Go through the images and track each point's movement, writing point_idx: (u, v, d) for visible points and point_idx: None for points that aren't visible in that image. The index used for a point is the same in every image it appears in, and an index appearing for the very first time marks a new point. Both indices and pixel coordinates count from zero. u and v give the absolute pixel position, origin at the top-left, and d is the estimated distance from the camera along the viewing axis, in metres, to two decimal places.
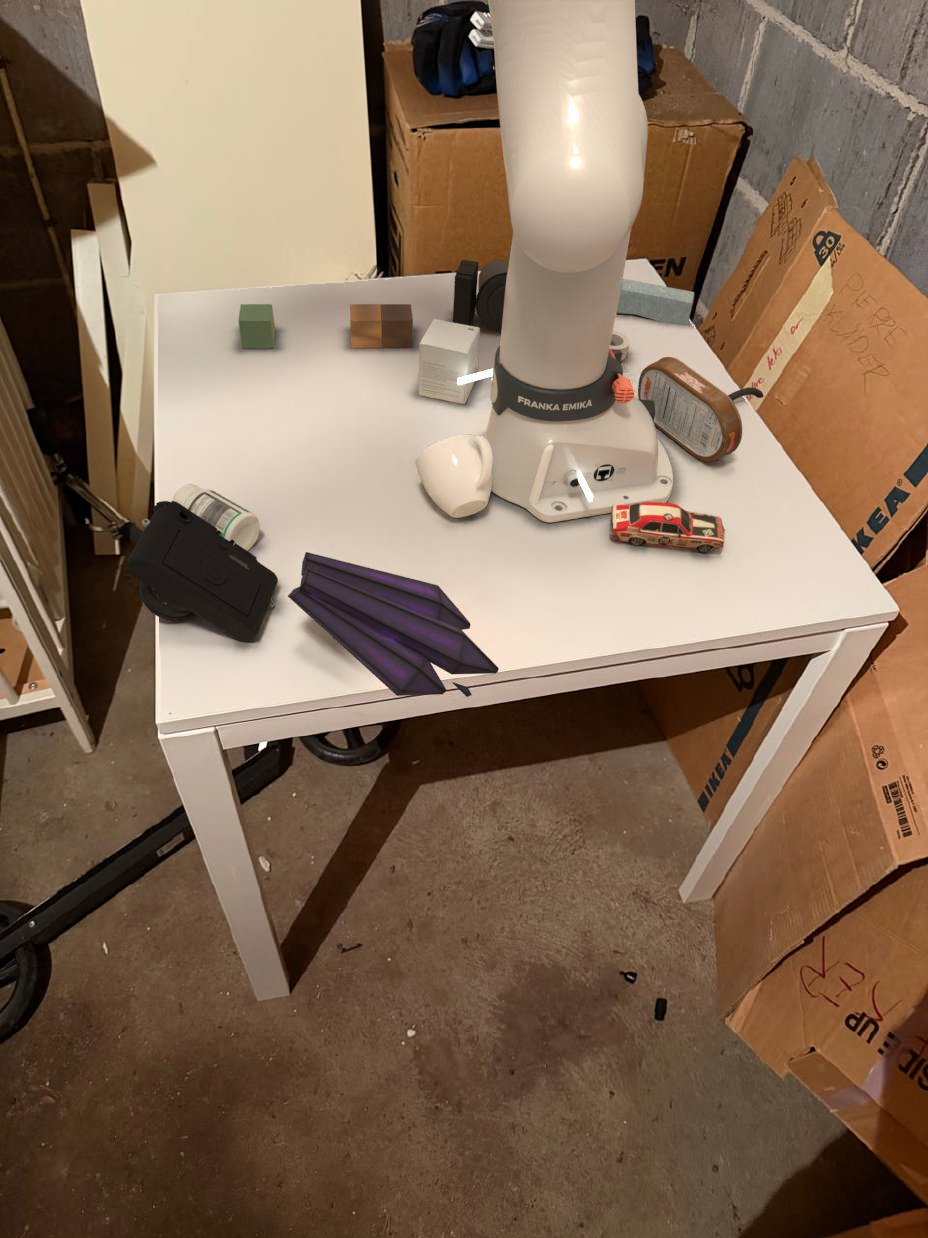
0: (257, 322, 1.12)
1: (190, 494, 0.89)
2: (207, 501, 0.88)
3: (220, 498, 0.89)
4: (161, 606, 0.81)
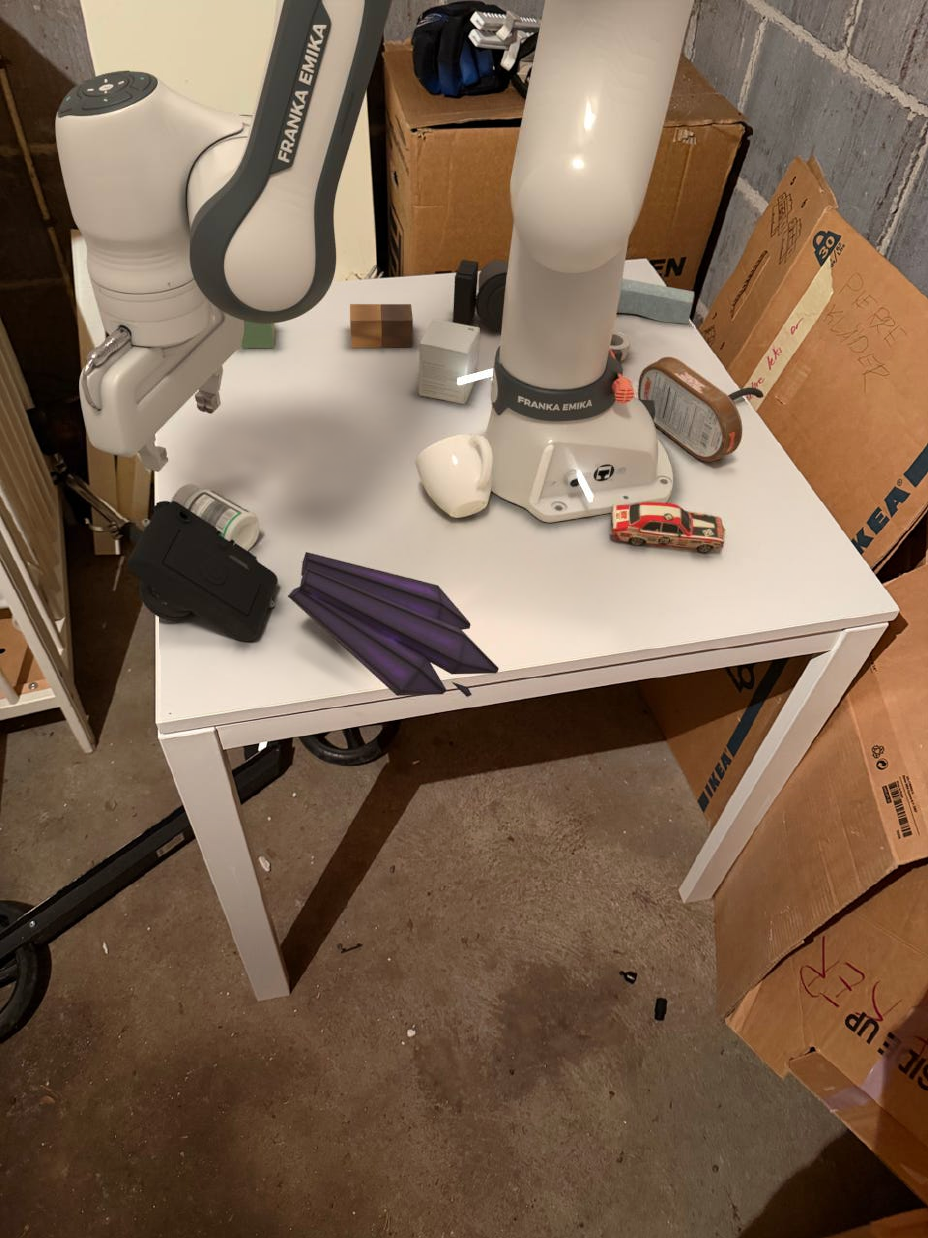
0: None
1: (190, 494, 0.89)
2: (207, 501, 0.88)
3: (220, 498, 0.89)
4: (161, 606, 0.81)
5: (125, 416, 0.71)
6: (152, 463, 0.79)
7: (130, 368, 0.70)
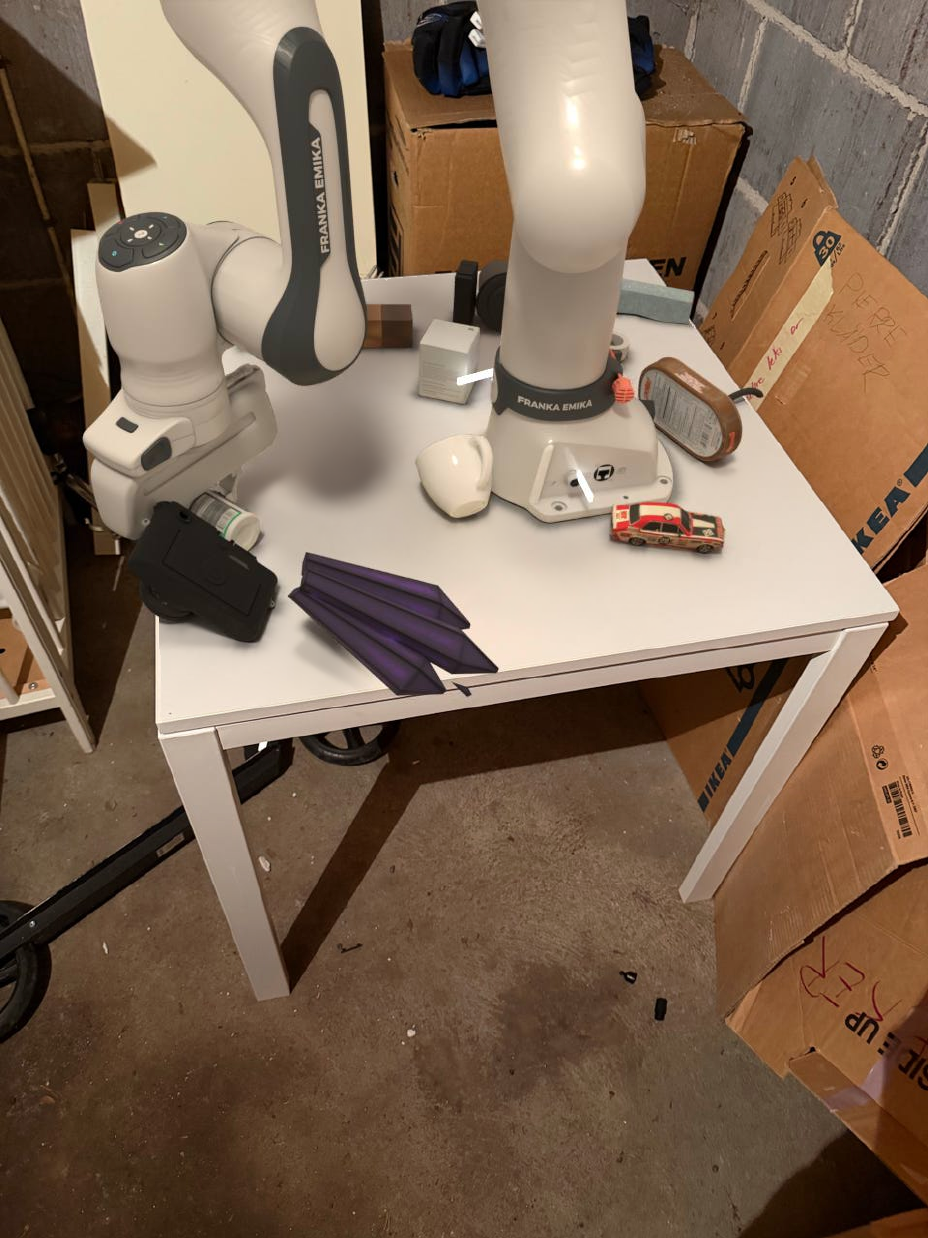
0: None
1: None
2: (207, 501, 0.88)
3: (220, 497, 0.89)
4: (161, 606, 0.81)
5: None
6: None
7: None
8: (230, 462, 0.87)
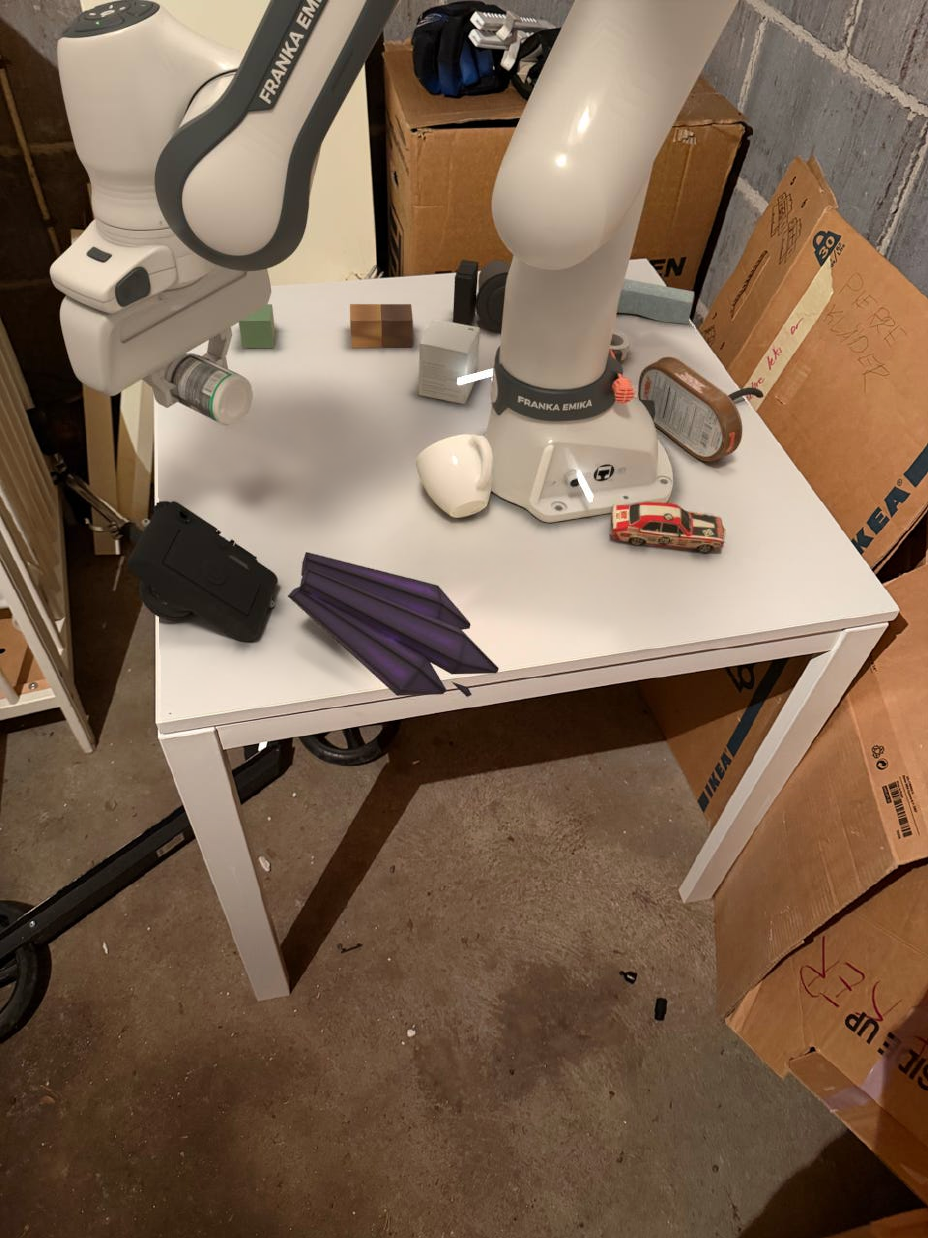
0: (257, 322, 1.12)
1: None
2: (193, 363, 0.79)
3: (208, 361, 0.80)
4: (161, 606, 0.81)
5: None
6: None
7: None
8: (218, 319, 0.78)
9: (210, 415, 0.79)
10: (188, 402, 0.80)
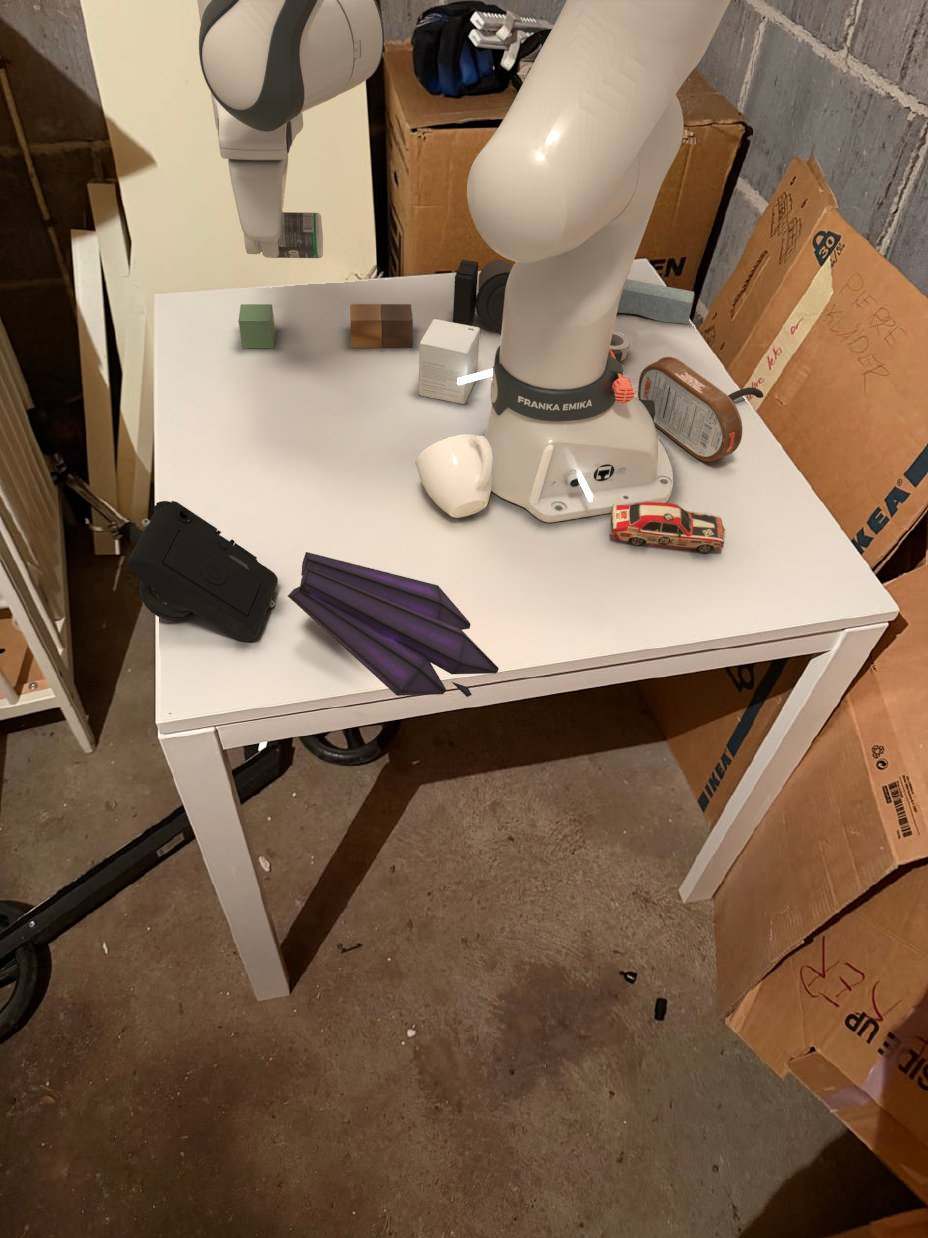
0: (257, 322, 1.12)
1: None
2: None
3: (284, 212, 0.98)
4: (161, 606, 0.81)
5: None
6: None
7: None
8: (285, 173, 0.97)
9: (312, 250, 0.99)
10: (288, 248, 0.98)
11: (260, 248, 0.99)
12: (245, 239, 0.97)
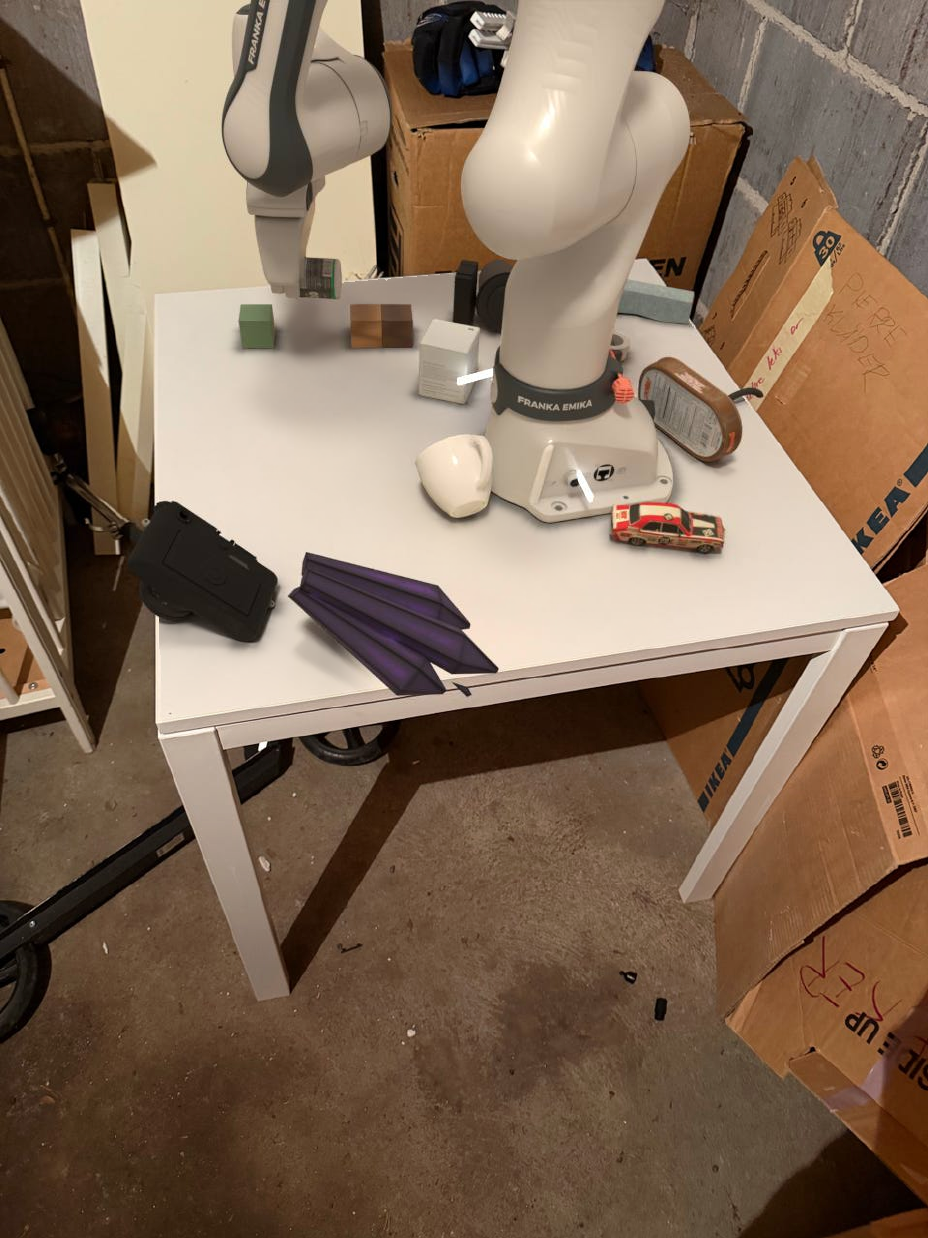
0: (257, 322, 1.12)
1: None
2: None
3: (307, 257, 1.09)
4: (161, 606, 0.81)
5: None
6: None
7: None
8: (309, 223, 1.08)
9: (330, 292, 1.09)
10: (308, 290, 1.09)
11: None
12: None
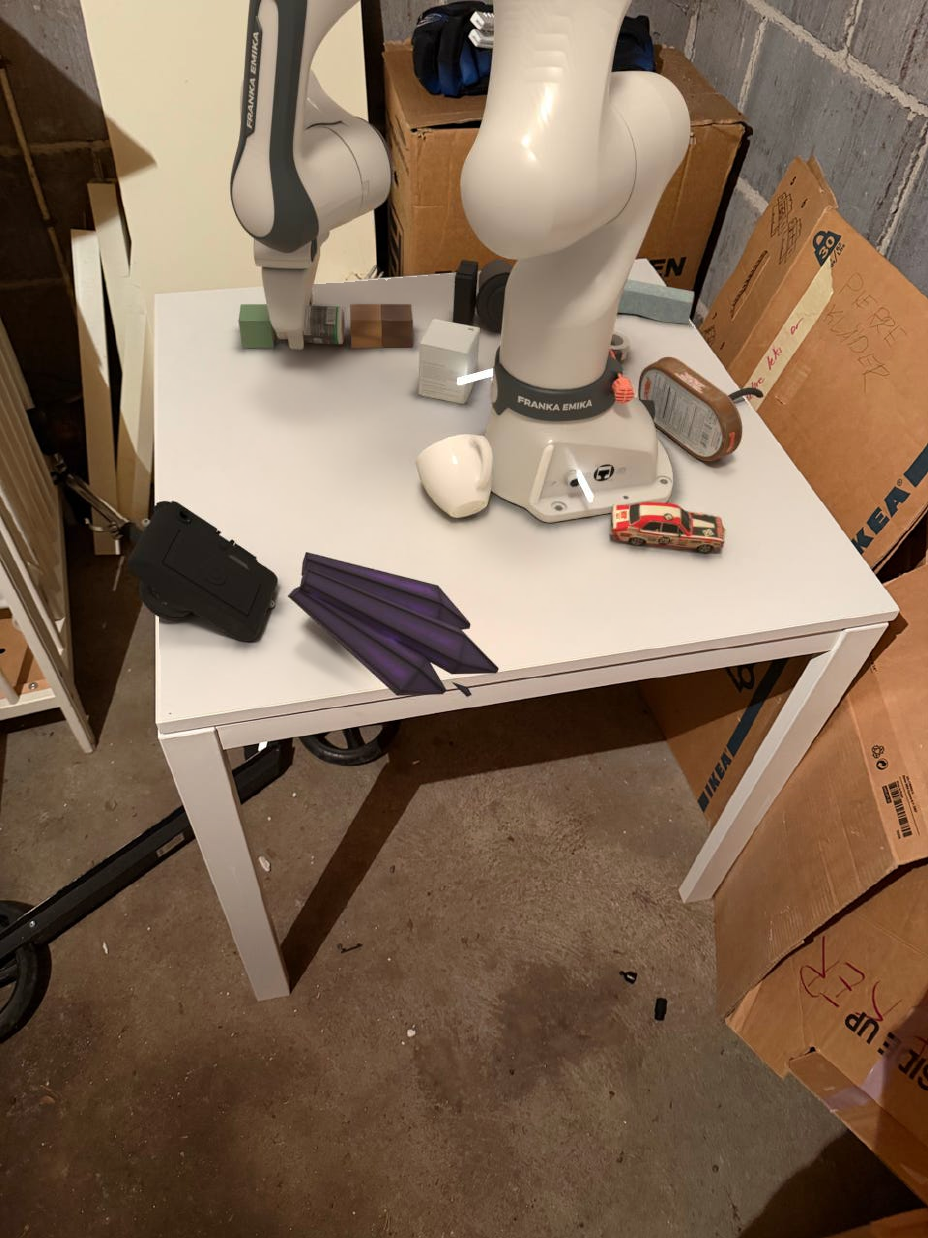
0: (257, 322, 1.12)
1: None
2: None
3: None
4: (161, 606, 0.81)
5: None
6: None
7: None
8: (314, 269, 1.12)
9: (333, 339, 1.14)
10: (312, 336, 1.13)
11: None
12: None
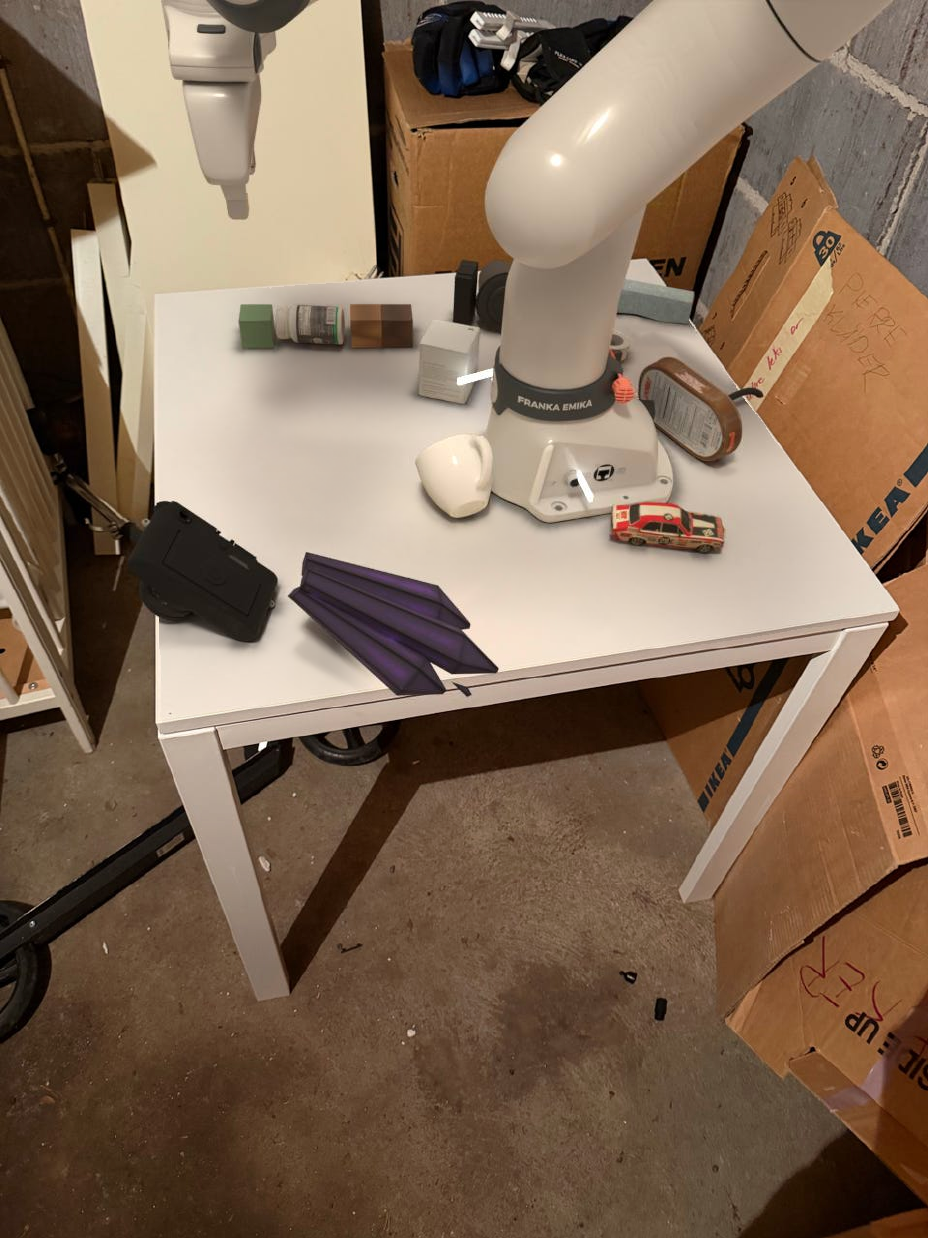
0: (257, 322, 1.12)
1: (287, 310, 1.13)
2: (307, 308, 1.13)
3: None
4: (161, 606, 0.81)
5: None
6: None
7: None
8: (256, 109, 0.81)
9: (333, 339, 1.14)
10: (312, 336, 1.13)
11: (289, 335, 1.14)
12: (276, 328, 1.13)
